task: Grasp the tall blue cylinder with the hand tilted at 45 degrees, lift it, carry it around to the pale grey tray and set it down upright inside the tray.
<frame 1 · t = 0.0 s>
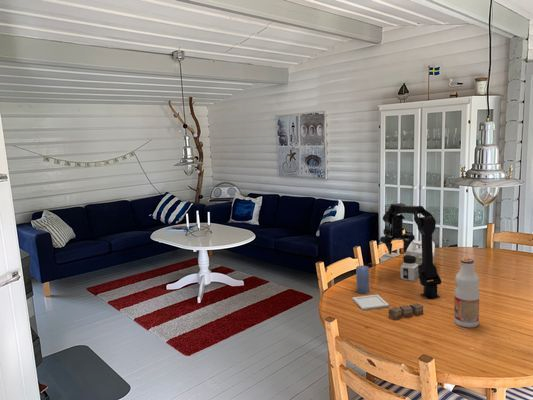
hand: (397, 253, 228), 15 cm above the table, tool pointing down, fingers open, 9 cm apart
tray: (370, 303, 198), on the table
walnut block a: (416, 313, 185), on the table
storage basket: (420, 269, 242), on the table
walnut block c: (395, 317, 182), on the table
blue cylinder: (363, 291, 214), on the table
fruit juice: (466, 323, 173), on the table
walnut block b: (405, 315, 183), on the table
container: (409, 278, 229), on the table
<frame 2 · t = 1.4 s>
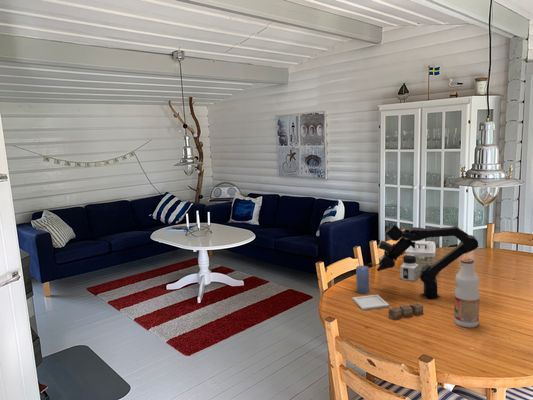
hand: (378, 267, 210), 13 cm above the table, tool tilted 45°, fingers open, 9 cm apart
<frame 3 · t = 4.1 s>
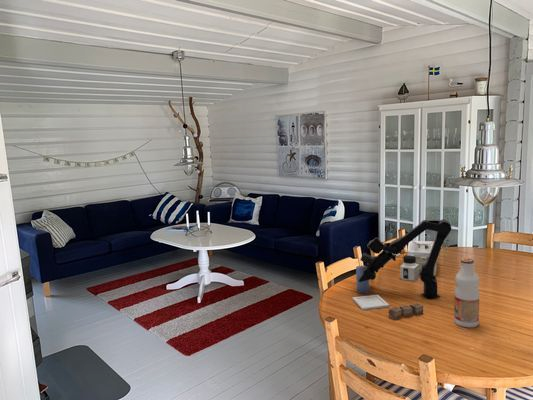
hand: (360, 279, 213), 7 cm above the table, tool tilted 45°, fingers closed on blue cylinder, 6 cm apart
blue cylinder: (363, 291, 214), on the table, touching gripper
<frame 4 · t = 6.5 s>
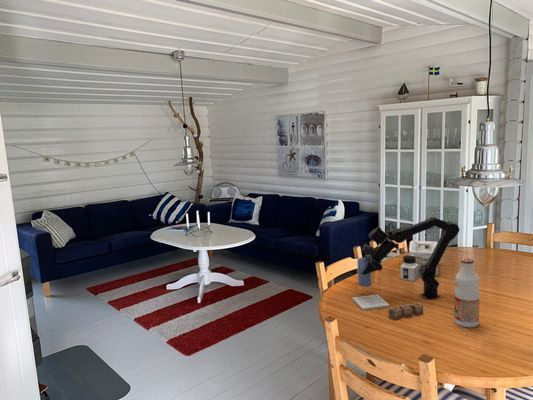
hand: (361, 271, 204), 13 cm above the table, tool tilted 45°, fingers closed on blue cylinder, 6 cm apart
blue cylinder: (364, 284, 205), point 7 cm above the table, touching gripper
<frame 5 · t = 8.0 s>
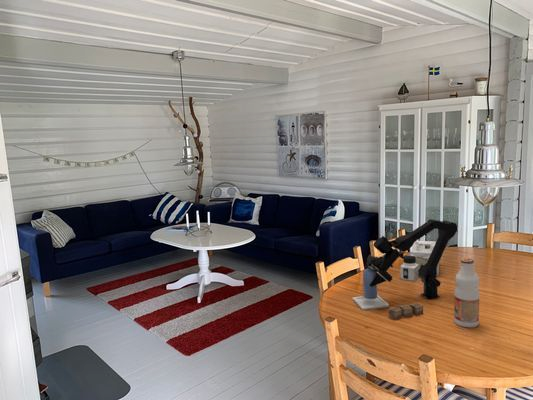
hand: (367, 283, 197), 10 cm above the table, tool tilted 45°, fingers closed on blue cylinder, 6 cm apart
blue cylinder: (370, 296, 198), point 3 cm above the table, touching gripper
when the fingers open (8 cm above the table, at t = 8.9 s): blue cylinder drops 1 cm, resting on tray.
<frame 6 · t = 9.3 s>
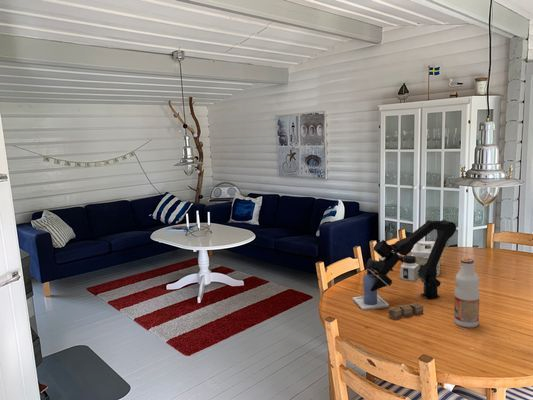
hand: (367, 287, 197), 8 cm above the table, tool tilted 45°, fingers open, 9 cm apart
blue cylinder: (370, 302, 198), point 1 cm above the table, touching tray
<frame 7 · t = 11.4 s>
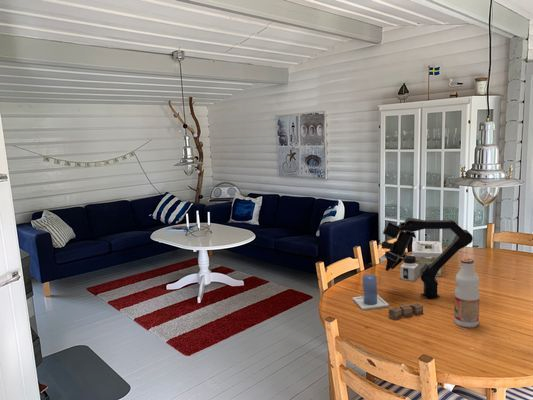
hand: (389, 269, 205), 14 cm above the table, tool tilted 25°, fingers open, 9 cm apart
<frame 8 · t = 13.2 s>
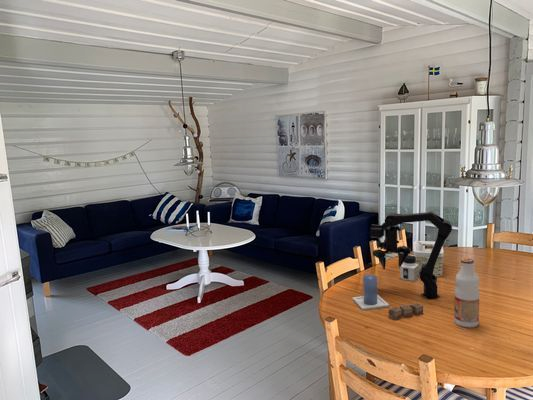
hand: (391, 267, 209), 13 cm above the table, tool pointing down, fingers open, 9 cm apart
at the end: blue cylinder inside the target area on the tray (0.1 cm from its centre), point 0.6 cm above the tray's base; blue cylinder tilted 1°; the gripper is holding nothing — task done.
